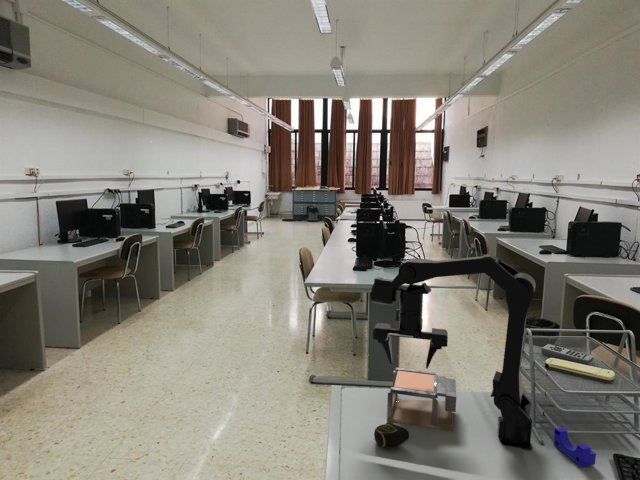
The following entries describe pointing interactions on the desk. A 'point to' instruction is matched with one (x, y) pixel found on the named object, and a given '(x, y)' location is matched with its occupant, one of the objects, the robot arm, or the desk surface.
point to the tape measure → (390, 435)
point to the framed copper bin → (417, 407)
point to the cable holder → (574, 449)
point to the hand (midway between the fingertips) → (408, 365)
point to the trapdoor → (429, 386)
